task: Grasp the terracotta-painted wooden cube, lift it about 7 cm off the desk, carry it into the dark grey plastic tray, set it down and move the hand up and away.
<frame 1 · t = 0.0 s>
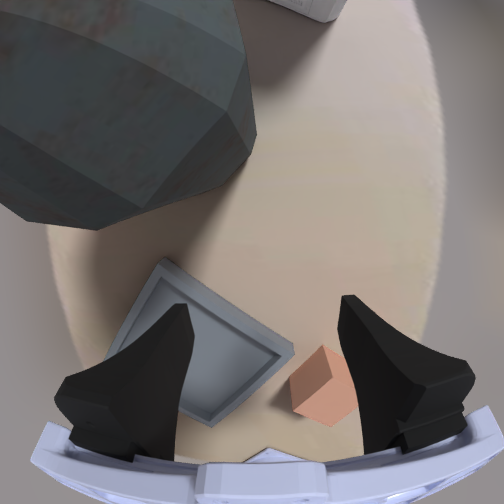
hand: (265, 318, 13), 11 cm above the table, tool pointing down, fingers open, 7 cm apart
wooden cube: (323, 371, 26), on the table
bottle: (192, 130, 20), on the table
dice tray: (191, 352, 26), on the table
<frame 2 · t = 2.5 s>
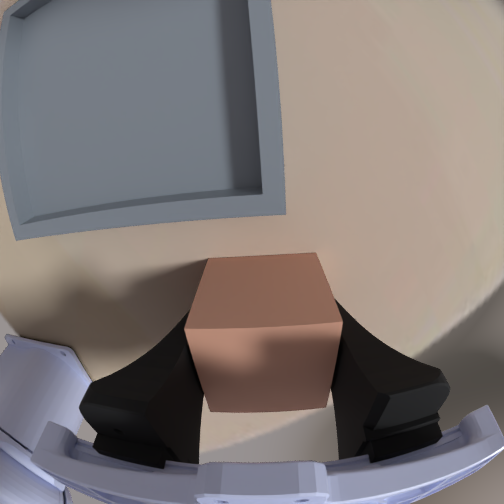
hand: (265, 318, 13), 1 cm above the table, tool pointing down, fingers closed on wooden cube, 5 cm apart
wooden cube: (264, 300, 14), on the table, touching gripper
dice tray: (112, 70, 9), on the table
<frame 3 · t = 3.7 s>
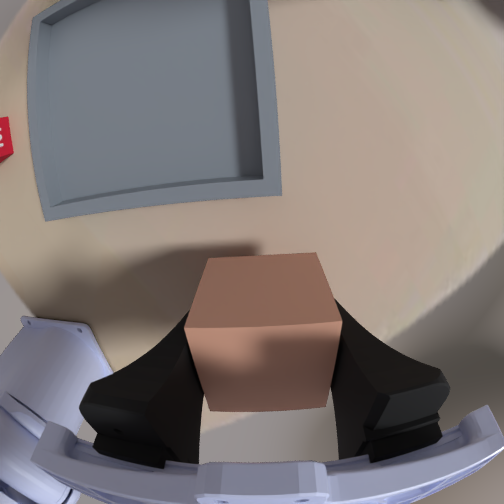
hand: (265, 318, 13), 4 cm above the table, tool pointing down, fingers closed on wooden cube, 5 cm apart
wooden cube: (264, 300, 14), point 3 cm above the table, touching gripper
red letter cube: (3, 141, 13), on the table
dice tray: (138, 76, 12), on the table
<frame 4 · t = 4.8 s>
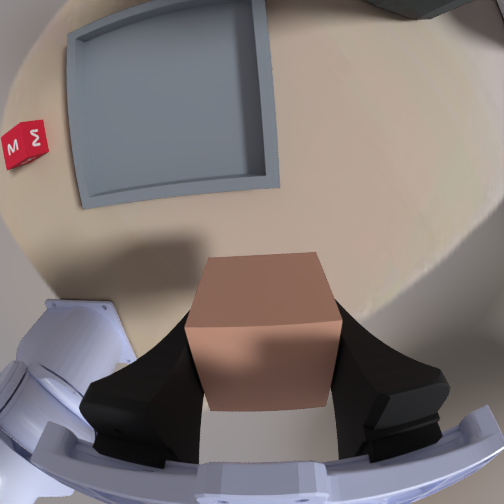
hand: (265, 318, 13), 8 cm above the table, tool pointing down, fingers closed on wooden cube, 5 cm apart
wooden cube: (264, 299, 14), point 7 cm above the table, touching gripper
red letter cube: (37, 141, 17), on the table
dice tray: (165, 93, 16), on the table
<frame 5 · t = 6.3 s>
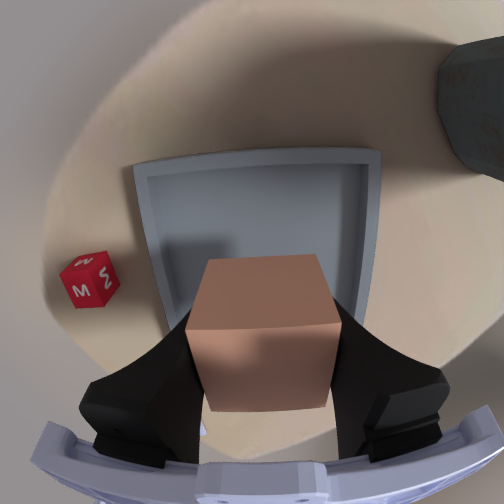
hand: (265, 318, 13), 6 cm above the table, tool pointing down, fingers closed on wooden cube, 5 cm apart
wooden cube: (264, 300, 14), point 5 cm above the table, touching gripper
bottle: (477, 110, 13), on the table
red letter cube: (100, 269, 20), on the table
dice tray: (263, 256, 18), on the table
when the fingers open (3 cm above the table, at t = 7.4 s): wooden cube drops 1 cm, resting on dice tray.
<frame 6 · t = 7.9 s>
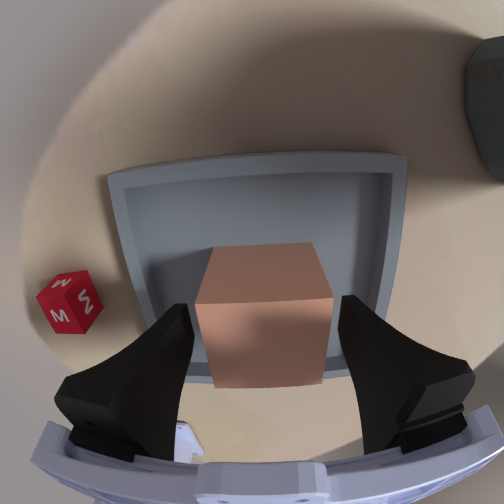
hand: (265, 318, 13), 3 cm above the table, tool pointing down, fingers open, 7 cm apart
wooden cube: (265, 286, 15), resting on dice tray
red letter cube: (81, 289, 17), on the table
dice tray: (264, 280, 16), on the table
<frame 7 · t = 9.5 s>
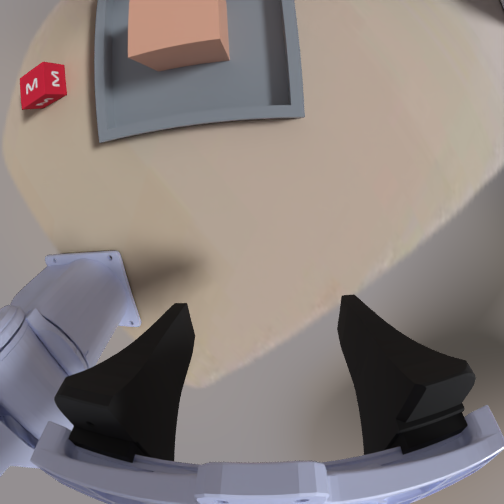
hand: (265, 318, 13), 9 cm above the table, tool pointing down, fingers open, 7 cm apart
wooden cube: (191, 34, 14), resting on dice tray
red letter cube: (55, 86, 16), on the table
dice tray: (192, 35, 15), on the table
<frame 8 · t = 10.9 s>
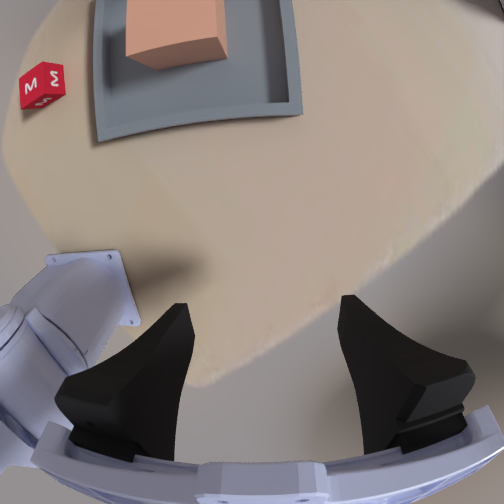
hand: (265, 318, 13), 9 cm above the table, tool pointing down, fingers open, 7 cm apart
wooden cube: (189, 33, 14), resting on dice tray
red letter cube: (53, 86, 16), on the table
dice tray: (190, 34, 15), on the table
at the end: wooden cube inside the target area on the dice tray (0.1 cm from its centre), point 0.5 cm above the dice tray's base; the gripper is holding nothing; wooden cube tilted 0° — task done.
